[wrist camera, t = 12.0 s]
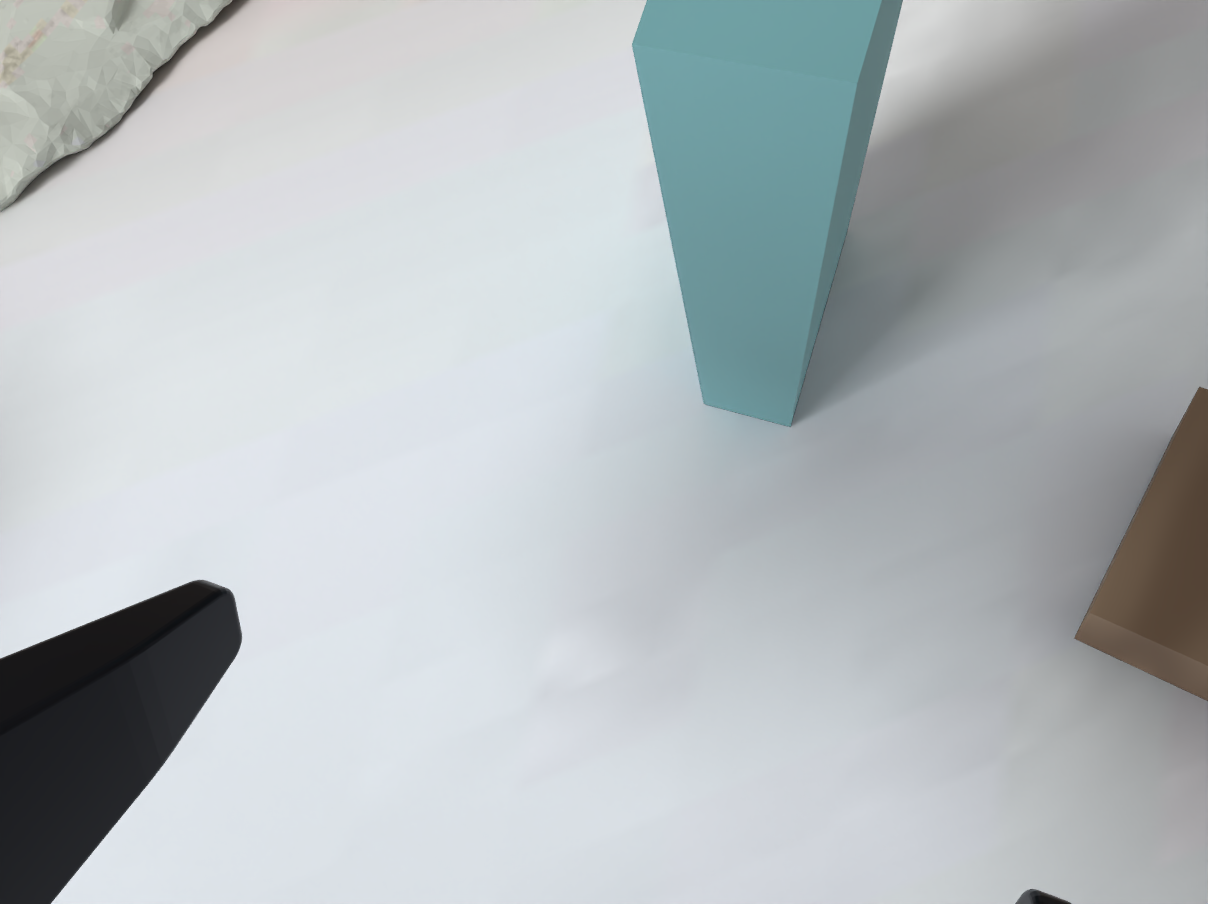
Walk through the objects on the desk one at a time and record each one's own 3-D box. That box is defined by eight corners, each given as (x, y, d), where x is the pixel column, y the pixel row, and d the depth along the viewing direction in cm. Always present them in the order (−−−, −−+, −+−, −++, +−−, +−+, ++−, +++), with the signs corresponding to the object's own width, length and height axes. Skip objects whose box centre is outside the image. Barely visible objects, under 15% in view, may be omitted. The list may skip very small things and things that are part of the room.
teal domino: (847, 229, 18) (993, -379, 7) (790, 426, 17) (857, 82, 6) (762, 211, 18) (781, -390, 7) (703, 404, 17) (632, 45, 7)
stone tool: (221, -168, 24) (-175, 209, 23) (176, -245, 22) (-263, 165, 21) (358, -68, 23) (-52, 339, 21) (324, -140, 21) (-133, 306, 19)
